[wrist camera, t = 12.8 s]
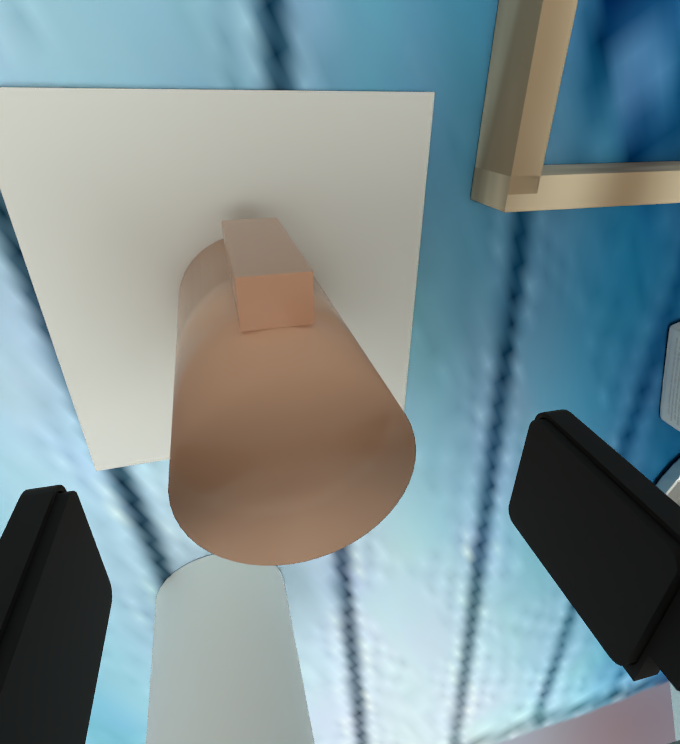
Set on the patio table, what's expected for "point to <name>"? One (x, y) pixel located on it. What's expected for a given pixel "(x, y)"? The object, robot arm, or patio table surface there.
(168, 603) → the cylindrical container
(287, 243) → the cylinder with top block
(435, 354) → the patio table surface
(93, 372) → the mat
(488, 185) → the cradle
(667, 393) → the supplement box
